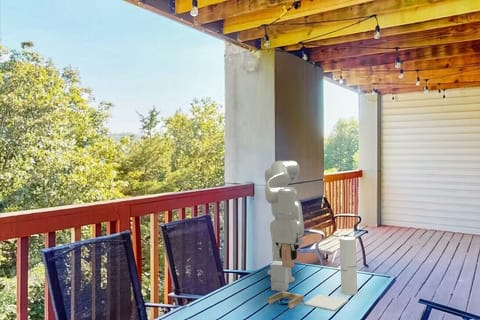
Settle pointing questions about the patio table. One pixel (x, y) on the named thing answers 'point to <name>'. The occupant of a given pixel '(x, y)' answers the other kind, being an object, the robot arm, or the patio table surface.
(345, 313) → the patio table surface
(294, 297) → the cradle
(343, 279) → the cylindrical container
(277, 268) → the supplement box
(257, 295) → the patio table surface
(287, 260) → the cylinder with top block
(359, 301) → the patio table surface
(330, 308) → the mat
